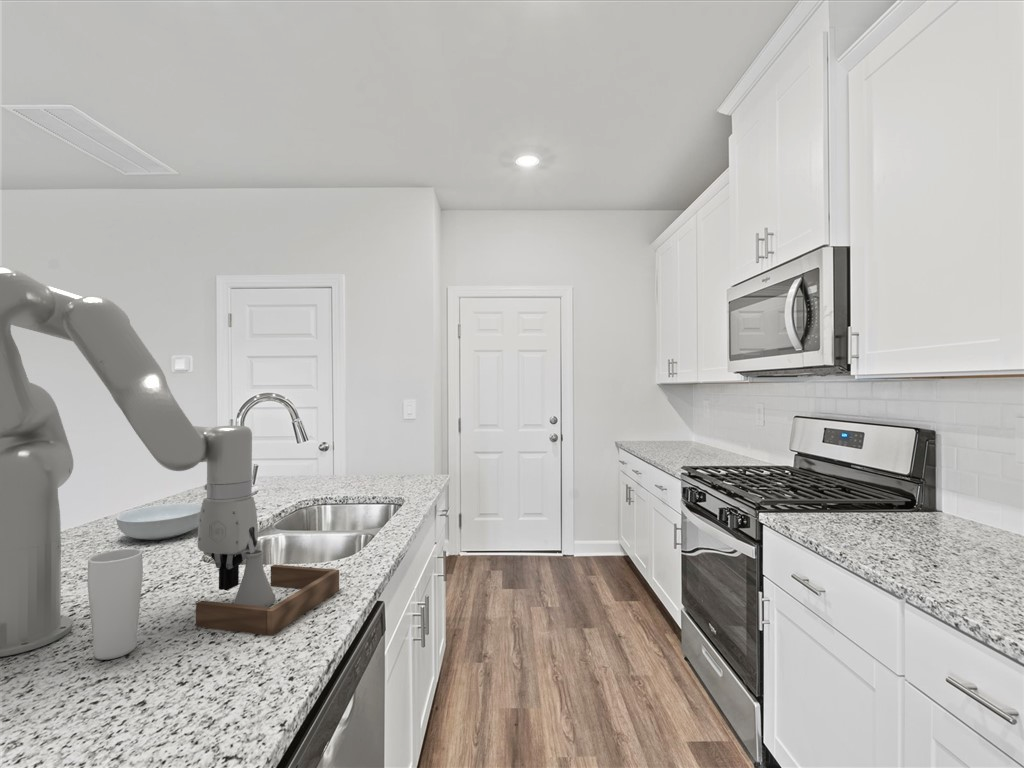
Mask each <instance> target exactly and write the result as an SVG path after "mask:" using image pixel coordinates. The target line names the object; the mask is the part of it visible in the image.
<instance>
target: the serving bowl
mask: <svg viewBox="0 0 1024 768" xmlns="http://www.w3.org/2000/svg"><path fill="white" fill-rule="evenodd" d="M201 507H202V503H194V502H192V503H191V502H178V503H177V502H175V503H162V504H154V505H149V506H143V507H138V508H134V509H130V510H127V511H123V512H121V513H119V514H118V515H116V517H115V520H116V523H117V527H118V530H120V532H121V533H122V534H124V535H125V536H127V537H129V538H132V539H138V540H147V541H158V540H168V539H171V538H176V537H179V536H181V535H183V534H186V533H188V532H190V531H192V530H194V529H196V528H197V527H198V526H199V517H200V511H201Z"/></svg>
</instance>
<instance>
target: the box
mask: <svg viewBox="0 0 1024 768" xmlns="http://www.w3.org/2000/svg"><path fill="white" fill-rule="evenodd" d="M270 586H271V587H279V588H289V589H290V588H291V589H299V590H298V591H296V592H294V593H292V594H291V595H289V596H287V597H286V598H285V599H283V600H281V601H279V602H278V603H276V604H274V605H272V606H271V607H270V606H268V607H261V606H251V605H241V604H233V603H229V602H223V601H222V602H219V601H211V600H199V601H197V602H196V603H195V627H196V628H204V629H214V630H220V631H221V630H222V631H231V632H239V633H244V634H245V633H248V634H254V635H264V636H274V635H275V634H277V633H278V632H280V631H281V630H283V629H285V628H287V626H289V625H290V624H291V623H293V622H294V621H296V620H298V619H299V618H300V617H302V616H303V615H305V614H306V613H308V612H309V611H310V610H312V609H313V608H314V607H316V606H318V605H319V604H321V603H322V602H323V601H325V600H327V599H328V598H329V597H331V596H332V595H333V594H335V593H336V592H338V591H340V569H336V568H335V569H334V568H321V567H308V566H299V565H285V564H272V565H270Z"/></svg>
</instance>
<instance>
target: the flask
mask: <svg viewBox="0 0 1024 768" xmlns="http://www.w3.org/2000/svg"><path fill="white" fill-rule="evenodd" d="M254 550H255V554H247V553H244V557H246V559H245V567H244V571H243V575H242V579H241V581H240V584H239V587H238V590H237V592H236V595H235V597H234V600H233V602H232V604H241V605H251V606H261V607H270V606H273V604H274V603H275V600H276V596H275V593H274V591H273V589H272V586H271V583H270V581H269V580H268V577H267V574H266V573H265V570H264V565H263V554H264V551H265V550H263V549H254Z"/></svg>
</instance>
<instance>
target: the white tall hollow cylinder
mask: <svg viewBox="0 0 1024 768" xmlns="http://www.w3.org/2000/svg"><path fill="white" fill-rule="evenodd" d="M87 563H88V564H87V594H88V604H89V605H88V606H89V612H90V622H91V631H92V632H91V633H92V643H93V649H92V650H93V651H92V652H93V657H94V658H95V659H97V660H101V661H102V660H103V661H104V660H105V661H107V660H113V659H117V658H121V657H123V656H126V655H128V654H130V653H131V652H132V651H134V650H135V649H136V647H137V645H138V629H139V628H138V627H139V625H138V624H139V616H140V609H141V599H142V598H141V597H142V587H143V573H144V572H143V570H144V567H143V566H144V565H143V551H142V550H141V549H139V548H138V549H137V548H124V549H123V548H122V549H116V550H110V551H109V550H108V551H106V552H104V551H103V552H101V553H98V554H95V555H92V556H91V557H90V558H89V559H88V562H87Z"/></svg>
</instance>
